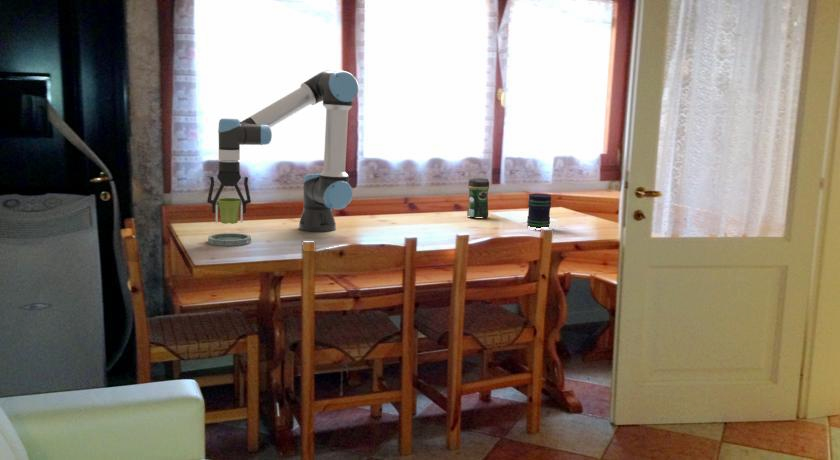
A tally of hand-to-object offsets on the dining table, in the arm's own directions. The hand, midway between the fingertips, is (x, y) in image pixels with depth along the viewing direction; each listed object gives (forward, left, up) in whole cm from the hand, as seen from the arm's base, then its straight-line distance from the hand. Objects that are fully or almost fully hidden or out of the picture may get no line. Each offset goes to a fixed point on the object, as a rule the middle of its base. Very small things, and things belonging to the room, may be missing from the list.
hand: (229, 221), depth 303 cm
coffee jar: (-73, -102, -8) cm, 126 cm away
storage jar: (-104, -84, -8) cm, 134 cm away
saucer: (0, 0, -8) cm, 8 cm away
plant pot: (0, 0, -1) cm, 1 cm away
